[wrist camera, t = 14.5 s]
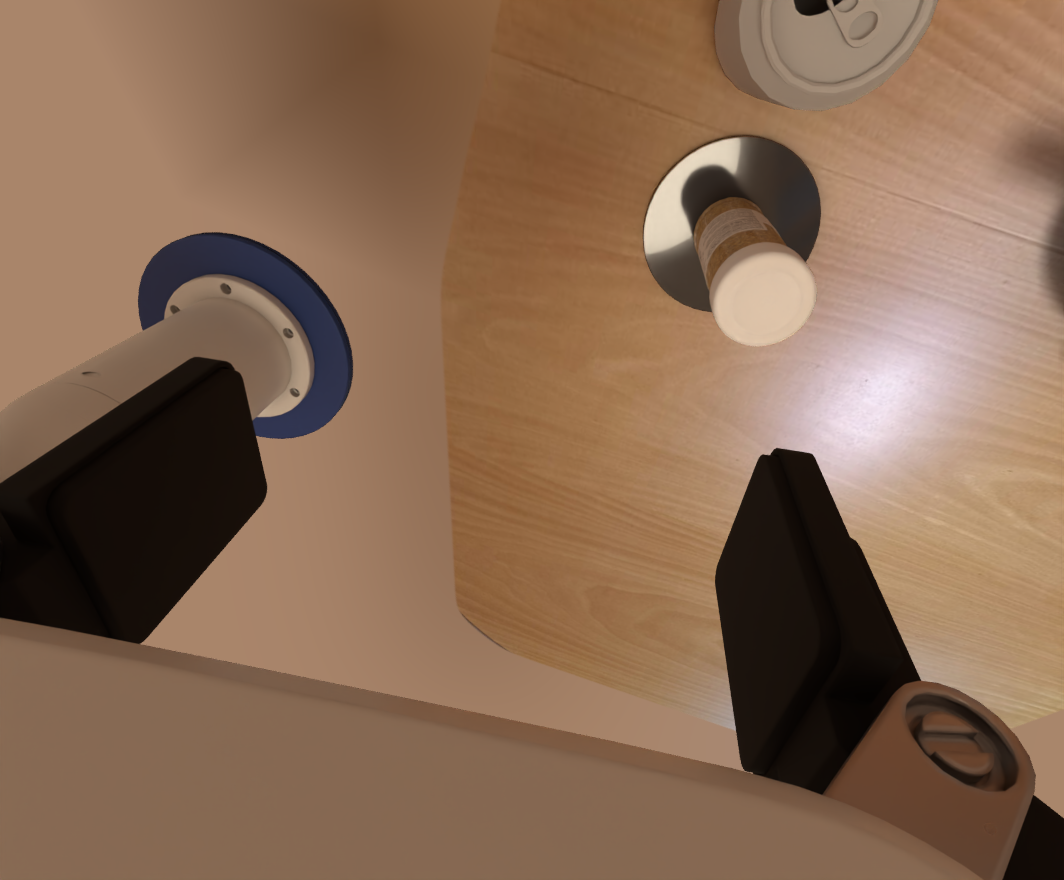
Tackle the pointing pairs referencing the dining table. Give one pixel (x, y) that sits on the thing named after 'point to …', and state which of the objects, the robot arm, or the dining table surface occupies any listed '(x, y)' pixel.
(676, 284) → the coaster
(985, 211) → the dining table surface
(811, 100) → the can
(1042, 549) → the dining table surface
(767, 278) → the sprinkles bottle
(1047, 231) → the dining table surface
